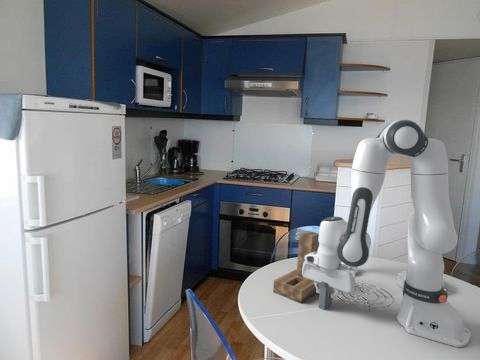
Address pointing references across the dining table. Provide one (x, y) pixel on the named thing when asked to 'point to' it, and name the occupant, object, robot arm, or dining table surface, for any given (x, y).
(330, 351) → the dining table surface
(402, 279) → the food container
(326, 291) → the grey rectangular block
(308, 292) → the wooden l-shaped post
